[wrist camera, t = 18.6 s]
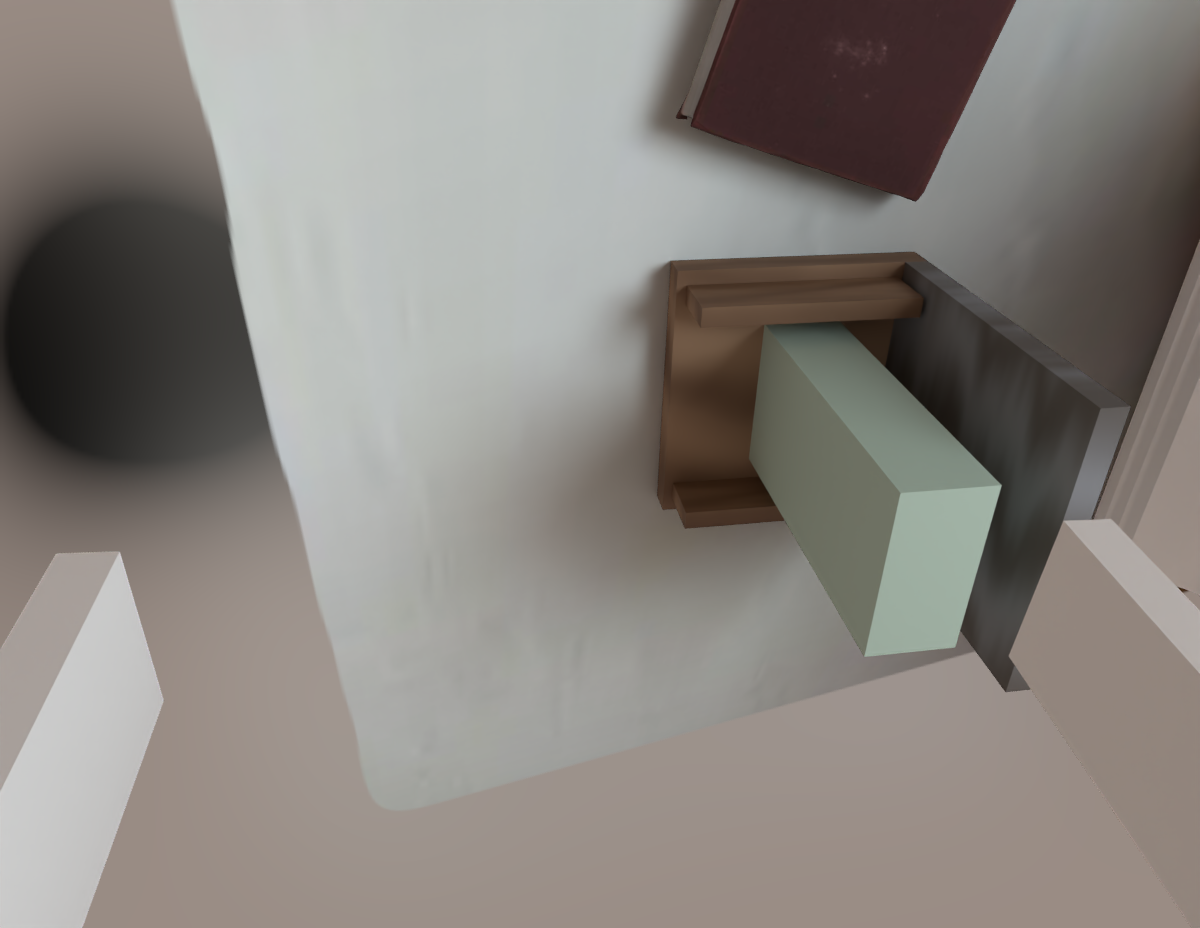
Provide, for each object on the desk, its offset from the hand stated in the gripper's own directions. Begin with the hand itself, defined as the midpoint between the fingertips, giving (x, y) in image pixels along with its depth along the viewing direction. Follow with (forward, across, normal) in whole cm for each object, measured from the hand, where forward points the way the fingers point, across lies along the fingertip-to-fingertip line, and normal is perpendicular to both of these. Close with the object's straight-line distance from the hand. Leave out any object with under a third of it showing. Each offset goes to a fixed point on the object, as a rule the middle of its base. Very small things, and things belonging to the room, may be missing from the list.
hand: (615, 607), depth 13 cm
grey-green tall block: (+32, +15, -14) cm, 38 cm away
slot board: (+34, +14, -14) cm, 39 cm away
